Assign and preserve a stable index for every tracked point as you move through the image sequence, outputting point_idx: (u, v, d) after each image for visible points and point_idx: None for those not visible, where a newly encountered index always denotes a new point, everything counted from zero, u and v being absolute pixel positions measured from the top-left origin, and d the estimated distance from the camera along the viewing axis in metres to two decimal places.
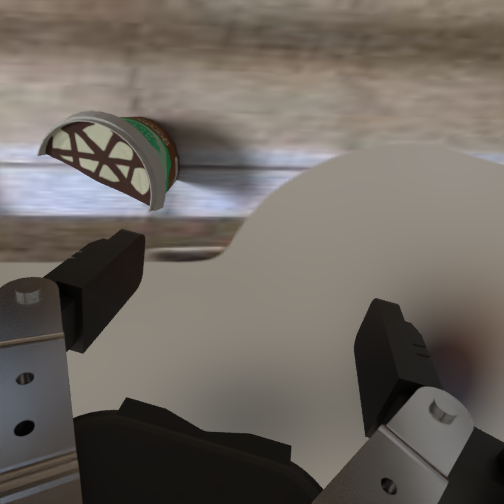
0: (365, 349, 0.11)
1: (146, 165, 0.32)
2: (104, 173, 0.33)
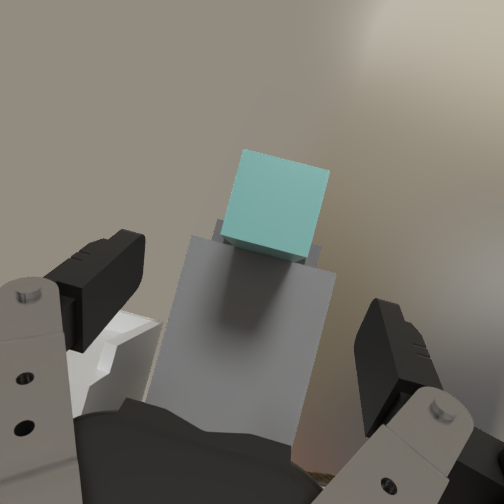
0: (365, 349, 0.11)
1: None
2: None
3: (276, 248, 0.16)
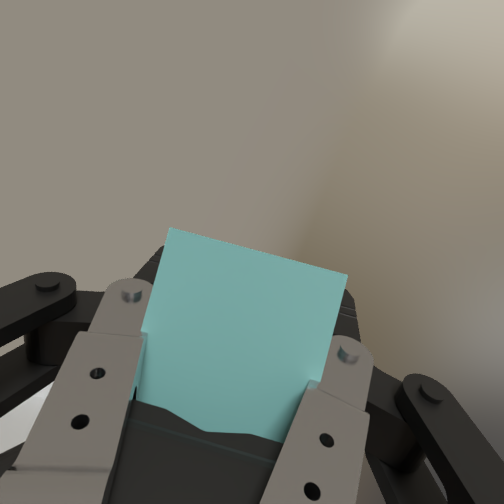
0: None
1: None
2: None
3: None
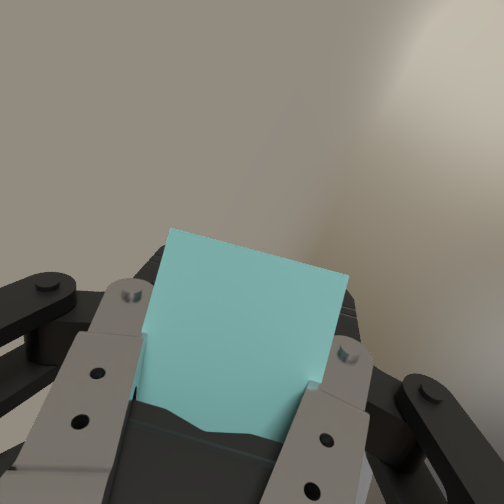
0: None
1: None
2: None
3: None
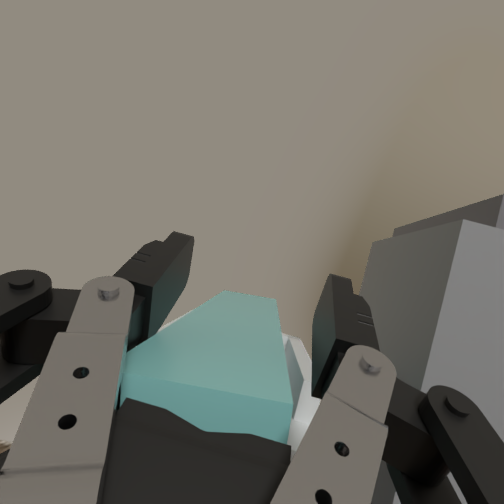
0: (319, 321, 0.12)
1: None
2: None
3: None
